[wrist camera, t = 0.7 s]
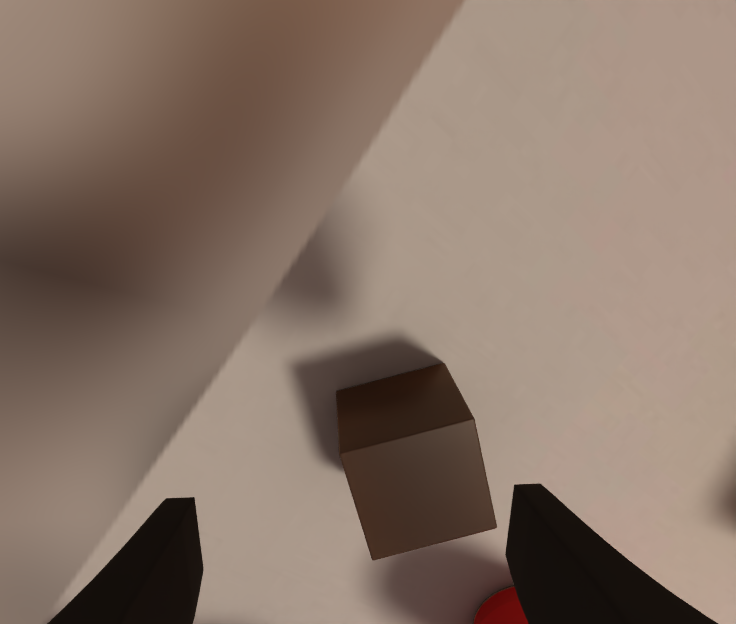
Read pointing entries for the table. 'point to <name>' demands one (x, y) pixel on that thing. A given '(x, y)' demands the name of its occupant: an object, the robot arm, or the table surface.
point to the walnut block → (413, 461)
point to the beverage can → (501, 609)
